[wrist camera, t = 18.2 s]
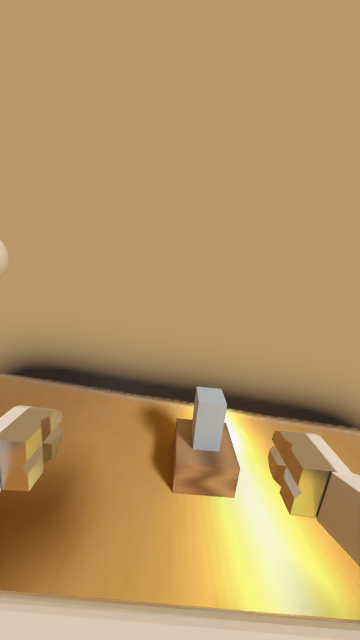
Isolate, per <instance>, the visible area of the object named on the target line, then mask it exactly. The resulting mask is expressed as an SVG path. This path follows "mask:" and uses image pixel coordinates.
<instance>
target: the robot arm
mask: <svg viewBox="0 0 360 640" xmlns="http://www.w3.org/2000/svg"><path fill="white" fill-rule="evenodd" d="M8 264H9V258H8V253H7V251H6V248H5V246H4V244H3V243H2V241H1V240H0V281H1V280H2V279H3V278H4V276H5V275H6V272H7V270H8ZM61 420H62V414H61V411H60V410H57V409H48V408H40V407H30V406H21V405H19V406H15V407H14V408H12V409H11V410H10V411H8V412H7V413H6V414H4V415H3V416H2V417H1V418H0V492H1V490H16V491H29V490H30V489H31V488H32V486H33V485H34V483H35V482H36V481H37V479H38V478H39V476H40V475H41V474H42V472H43V464H45V463H46V462H48V461H50V460H51V459H52V458H53V457H54V455H55V454H56V452H57V451H58V448H59V446H60V444H61V440H62V429H61V428H60V426H59V425H58V424H59V422H60V421H61ZM272 440H273V442H274V444H275V445H274V446H273V447H272V448H271V449H270V451H269V456H268V460H269V468H270V471H271V474H272V476H273V479H274V480H275V481H276V482H277V483H278V484H279V485H280V486H281V490H280V494H281V496H282V499H283V501H284V503H285V505H286V507H287V510H288V512H289V514H290V515H294V516H302V517H310V518H317V521H318V522H319V523H320V524H321V525H322V526H323V527H324V528H325V530H326V531H327V532H328V533H329V534H330V535H331V536H332V537H333V538H334V539H335V540H336V541H337V542H338V544H339V545H340V546H341V547H342V548H343V549H344V550H345V551H346V552H347V553H348V554H349V555H350V556H351V558H352V559H353V560H354V561H355V562H356V563H357V564H358V565H359V566H360V476H359V475H357V474H353V473H352V472H351V471H350V470H349V469H348V468H347V467H346V465H345V464H344V463H343V462H342V461H341V460H340V458H339V457H338V456H337V455H336V454H335V453H334V452H333V450H332V449H331V448H330V447H329V446H328V445H327V444H326V442H325V441H324V440H323V439H322V438H321V437H320V436H319V435H317V434H315V433H297V432H285V431H275V432H274V434H273V438H272ZM0 640H360V620H348V619H337V618H325V617H313V616H302V615H290V614H278V613H267V612H255V611H244V610H232V609H220V608H209V607H197V606H186V605H174V604H162V603H150V602H138V601H126V600H115V599H103V598H91V597H79V596H67V595H55V594H43V593H32V592H20V591H8V590H0Z"/></svg>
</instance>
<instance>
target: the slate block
mask: <svg viewBox="0 0 360 640" xmlns="http://www.w3.org/2000/svg"><path fill="white" fill-rule="evenodd" d="M226 407H227V403H226V401H225V398H224V395H223V392H222V389H216V388H204V387H197V389H196V396H195V405H194V413H193V421H192V429H191V430H192V445H193V449H194V450H206V451H218V452H219V450H220V444H221V438H222V432H223V425H224V419H225V413H226Z"/></svg>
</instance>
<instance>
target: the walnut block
mask: <svg viewBox="0 0 360 640" xmlns="http://www.w3.org/2000/svg"><path fill="white" fill-rule="evenodd" d="M192 421H193V420H188V419H177V423H176V432H175V441H174V465H173V493H181V494H193V495H205V496H217V497H229V498H234V496H235V491H236V486H237V481H238V476H239V471H240V467H239V464H238V461H237V457H236V454H235V451H234V448H233V444H232V441H231V438H230V435H229V432H228V428H227V425H226V423H224V425H223V432H222V438H221V444H220V450H219V452H218V451H206V450H194V449H193V445H192V430H191V429H192Z"/></svg>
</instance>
